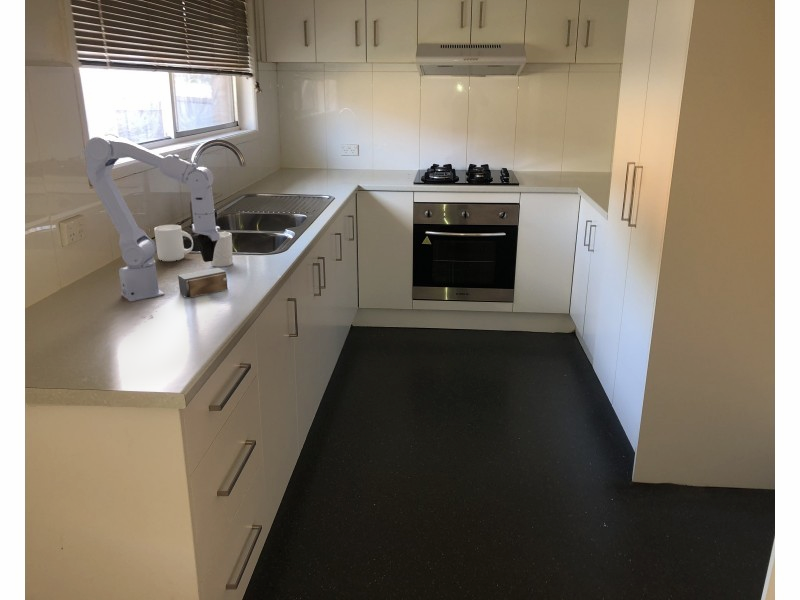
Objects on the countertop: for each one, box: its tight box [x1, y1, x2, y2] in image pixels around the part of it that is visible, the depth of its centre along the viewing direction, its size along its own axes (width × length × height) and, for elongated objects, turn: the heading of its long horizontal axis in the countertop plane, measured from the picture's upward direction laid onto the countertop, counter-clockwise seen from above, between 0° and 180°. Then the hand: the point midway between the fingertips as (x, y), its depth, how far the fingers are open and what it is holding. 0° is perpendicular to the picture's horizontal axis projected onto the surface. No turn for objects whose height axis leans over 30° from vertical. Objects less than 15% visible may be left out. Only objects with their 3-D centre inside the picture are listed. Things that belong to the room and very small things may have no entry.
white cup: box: [210, 231, 234, 268], centre depth 208 cm, size 8×8×10 cm
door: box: [185, 273, 229, 299], centre depth 179 cm, size 12×2×5 cm, turn 129°
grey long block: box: [177, 267, 227, 298], centre depth 182 cm, size 12×5×5 cm, turn 129°
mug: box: [153, 224, 194, 262], centre depth 215 cm, size 9×12×11 cm
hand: (208, 261), depth 177 cm, fingers closed
